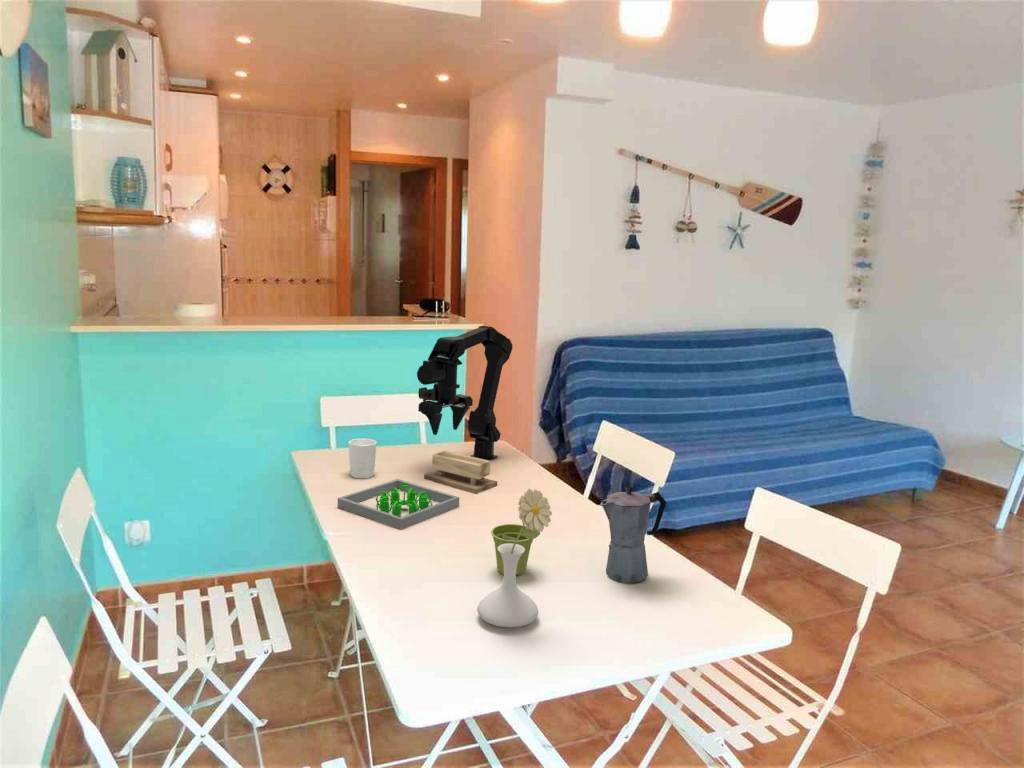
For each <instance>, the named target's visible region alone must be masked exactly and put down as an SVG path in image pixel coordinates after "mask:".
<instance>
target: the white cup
mask: <svg viewBox="0 0 1024 768" xmlns="http://www.w3.org/2000/svg"><path fill="white" fill-rule="evenodd" d="M377 443H378V442H377V440H374V439H371V438H364V437H363V438H353V439H350V440H349V441H348V459H349V475H350V476H351V478H354V479H369V478H372V477H374V476H375V467H376V457H377Z"/></svg>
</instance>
